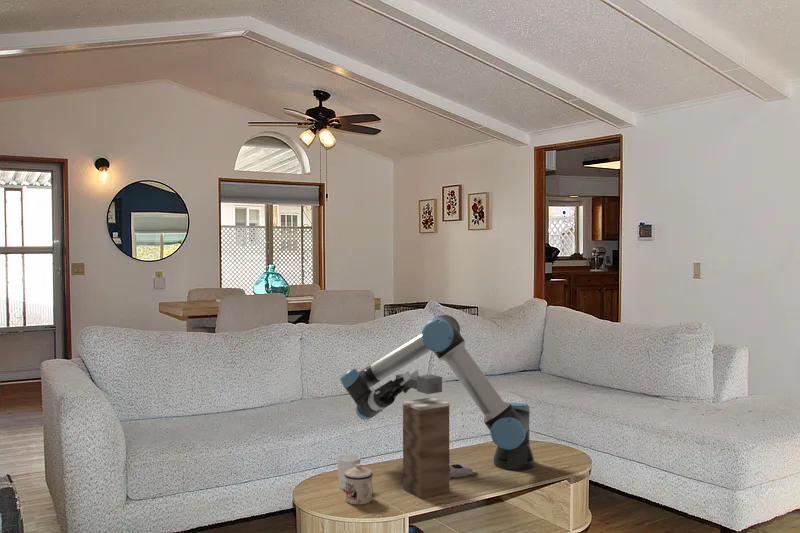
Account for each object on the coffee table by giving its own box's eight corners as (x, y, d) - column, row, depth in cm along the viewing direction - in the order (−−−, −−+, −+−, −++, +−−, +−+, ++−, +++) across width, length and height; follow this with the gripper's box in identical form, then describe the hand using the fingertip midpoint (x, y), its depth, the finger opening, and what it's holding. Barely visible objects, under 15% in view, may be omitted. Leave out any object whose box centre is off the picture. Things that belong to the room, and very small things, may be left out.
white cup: (333, 485, 239) (333, 456, 239) (354, 481, 243) (354, 453, 243) (343, 492, 232) (343, 462, 232) (364, 488, 236) (364, 459, 236)
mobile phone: (407, 461, 247) (471, 454, 255) (407, 478, 247) (471, 470, 255) (412, 467, 241) (478, 459, 249) (412, 483, 242) (478, 475, 249)
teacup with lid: (339, 499, 226) (339, 463, 226) (362, 493, 232) (362, 458, 231) (359, 510, 217) (359, 473, 216) (383, 503, 222) (383, 467, 222)
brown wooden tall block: (403, 489, 234) (402, 401, 233) (431, 483, 241) (431, 397, 240) (420, 498, 226) (420, 407, 225) (449, 491, 233) (449, 402, 232)
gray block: (392, 383, 244) (392, 369, 244) (406, 381, 248) (406, 367, 247) (427, 394, 227) (427, 379, 227) (442, 391, 230) (442, 377, 230)
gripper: (402, 404, 259) (435, 382, 241) (366, 410, 250) (397, 387, 233) (397, 385, 262) (429, 362, 244) (360, 390, 253) (390, 366, 235)
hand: (413, 374), depth 239 cm, fingers closed on gray block, 3 cm apart
